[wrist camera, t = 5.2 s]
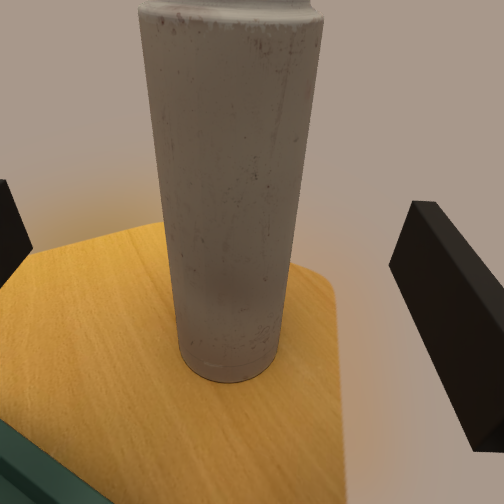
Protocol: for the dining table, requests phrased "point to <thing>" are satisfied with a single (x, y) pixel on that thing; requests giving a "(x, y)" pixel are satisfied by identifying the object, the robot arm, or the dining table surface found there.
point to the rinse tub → (38, 475)
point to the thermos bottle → (230, 166)
